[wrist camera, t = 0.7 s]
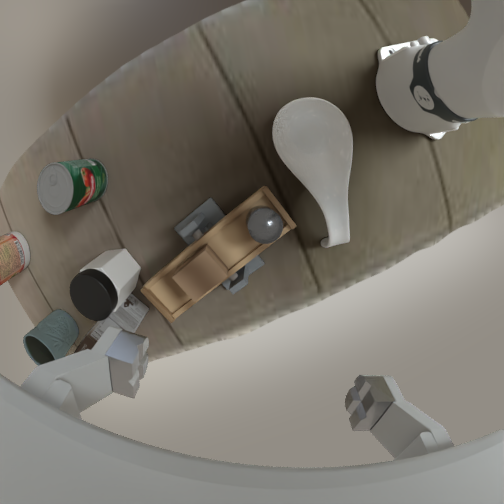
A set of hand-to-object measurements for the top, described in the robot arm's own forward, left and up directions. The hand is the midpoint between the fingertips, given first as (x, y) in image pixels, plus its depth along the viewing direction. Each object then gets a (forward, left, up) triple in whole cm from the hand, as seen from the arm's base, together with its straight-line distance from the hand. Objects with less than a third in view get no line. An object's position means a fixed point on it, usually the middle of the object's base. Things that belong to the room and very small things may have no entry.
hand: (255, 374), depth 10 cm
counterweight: (+1, +2, -32) cm, 32 cm away
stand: (+9, +2, -37) cm, 38 cm away
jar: (+27, -6, -37) cm, 46 cm away
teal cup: (+52, -6, -37) cm, 64 cm away
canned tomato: (+20, -22, -37) cm, 48 cm away
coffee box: (+33, +1, -37) cm, 50 cm away
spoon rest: (-11, +2, -37) cm, 39 cm away
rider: (+12, +2, -30) cm, 32 cm away
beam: (+9, +2, -33) cm, 34 cm away
